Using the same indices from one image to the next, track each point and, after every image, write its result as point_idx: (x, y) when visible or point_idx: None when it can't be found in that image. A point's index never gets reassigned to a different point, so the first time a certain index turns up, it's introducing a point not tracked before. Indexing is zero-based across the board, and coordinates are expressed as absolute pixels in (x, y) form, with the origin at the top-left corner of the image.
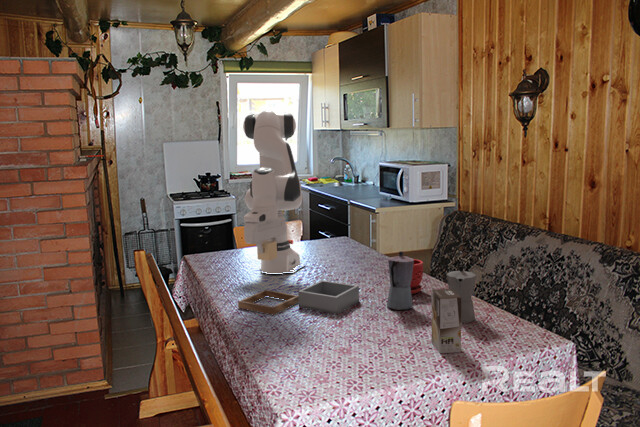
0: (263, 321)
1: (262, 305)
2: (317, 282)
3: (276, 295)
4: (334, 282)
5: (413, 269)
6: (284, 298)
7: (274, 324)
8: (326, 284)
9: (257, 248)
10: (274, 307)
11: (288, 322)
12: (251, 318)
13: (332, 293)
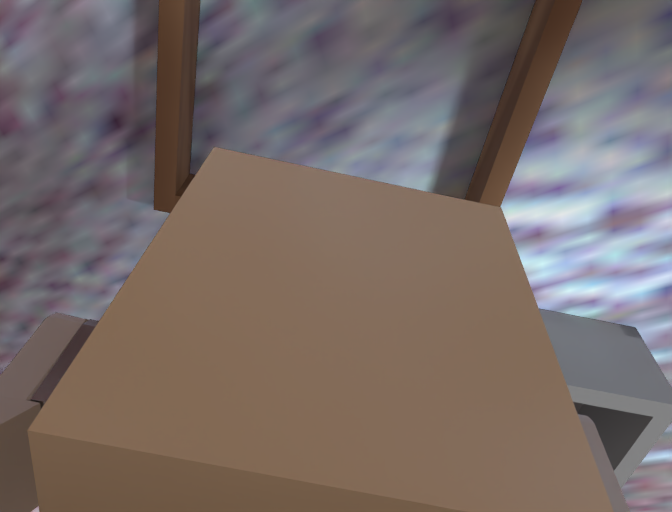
0: (43, 175)
1: (169, 108)
2: (618, 395)
3: (523, 62)
4: (622, 478)
5: None
6: (491, 139)
7: (41, 252)
8: (629, 422)
9: (125, 289)
10: (169, 212)
11: (108, 306)
12: (42, 71)
13: (589, 410)
